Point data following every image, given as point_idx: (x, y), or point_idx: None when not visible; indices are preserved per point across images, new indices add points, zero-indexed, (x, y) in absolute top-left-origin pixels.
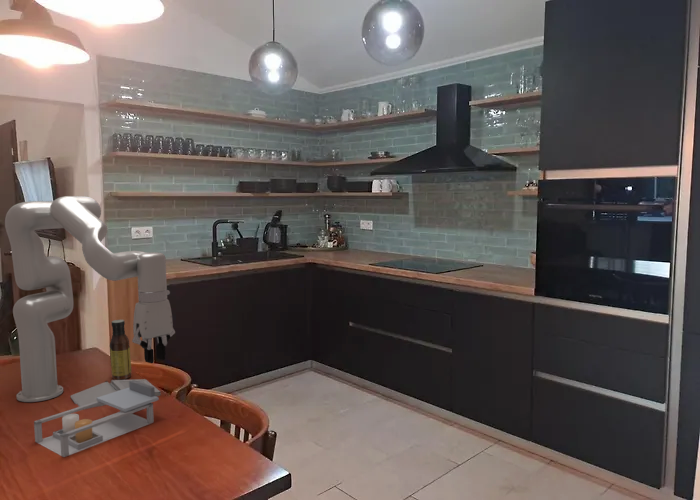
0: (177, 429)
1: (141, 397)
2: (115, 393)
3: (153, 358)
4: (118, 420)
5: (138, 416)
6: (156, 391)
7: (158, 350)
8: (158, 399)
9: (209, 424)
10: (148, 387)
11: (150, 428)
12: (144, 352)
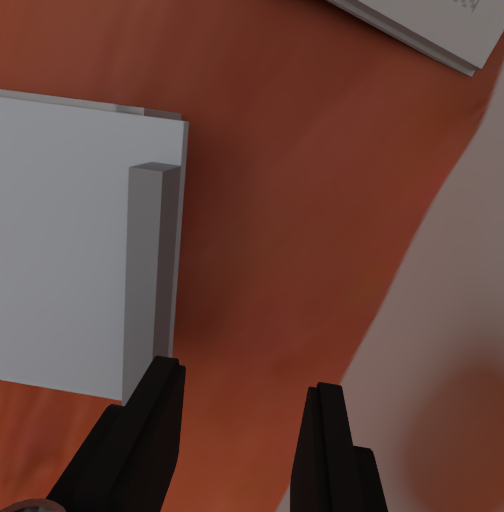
0: (188, 432)
1: (108, 335)
2: (54, 138)
3: (161, 497)
4: None
5: None
6: (467, 49)
7: (306, 506)
8: None
9: (276, 497)
10: (126, 383)
11: None
12: (66, 472)
